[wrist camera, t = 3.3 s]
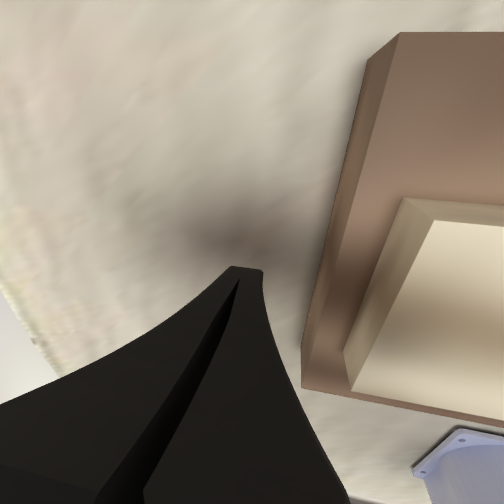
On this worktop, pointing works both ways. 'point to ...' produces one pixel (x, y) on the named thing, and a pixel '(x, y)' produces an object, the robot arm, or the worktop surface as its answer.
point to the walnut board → (405, 177)
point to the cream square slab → (435, 311)
